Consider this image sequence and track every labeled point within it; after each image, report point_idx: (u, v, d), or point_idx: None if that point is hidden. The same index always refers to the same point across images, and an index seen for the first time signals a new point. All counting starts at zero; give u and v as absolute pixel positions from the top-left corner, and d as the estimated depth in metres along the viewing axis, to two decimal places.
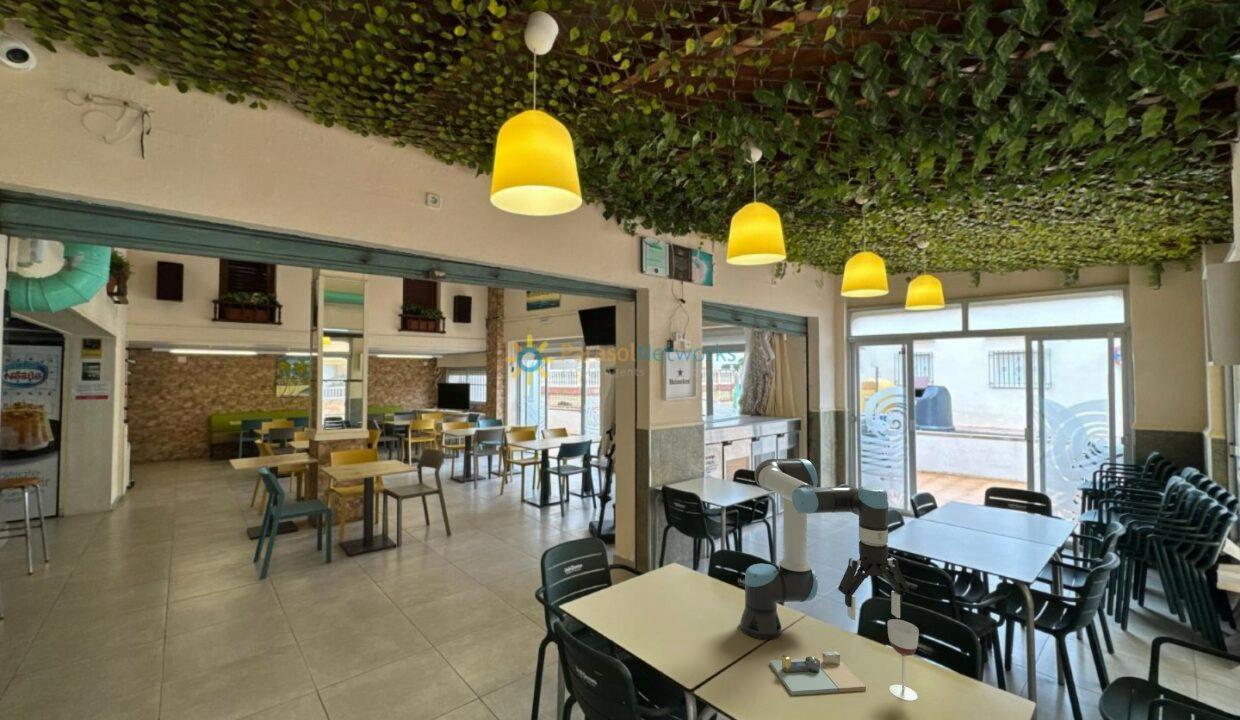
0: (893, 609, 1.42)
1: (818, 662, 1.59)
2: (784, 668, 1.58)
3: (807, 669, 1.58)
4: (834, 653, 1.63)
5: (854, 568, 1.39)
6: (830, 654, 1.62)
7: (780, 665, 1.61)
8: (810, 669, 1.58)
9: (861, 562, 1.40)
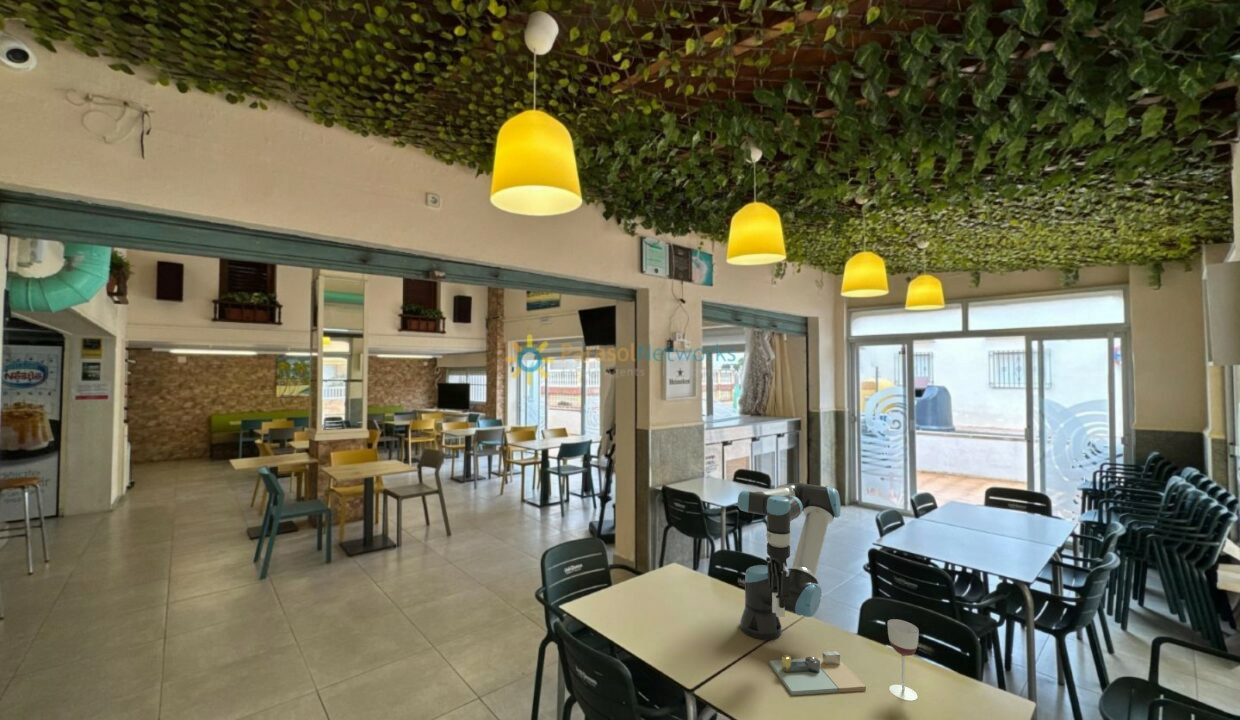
0: None
1: (818, 662, 1.59)
2: (784, 668, 1.58)
3: (807, 669, 1.58)
4: (834, 653, 1.63)
5: (767, 563, 1.71)
6: (830, 654, 1.62)
7: (780, 665, 1.61)
8: (810, 669, 1.58)
9: None
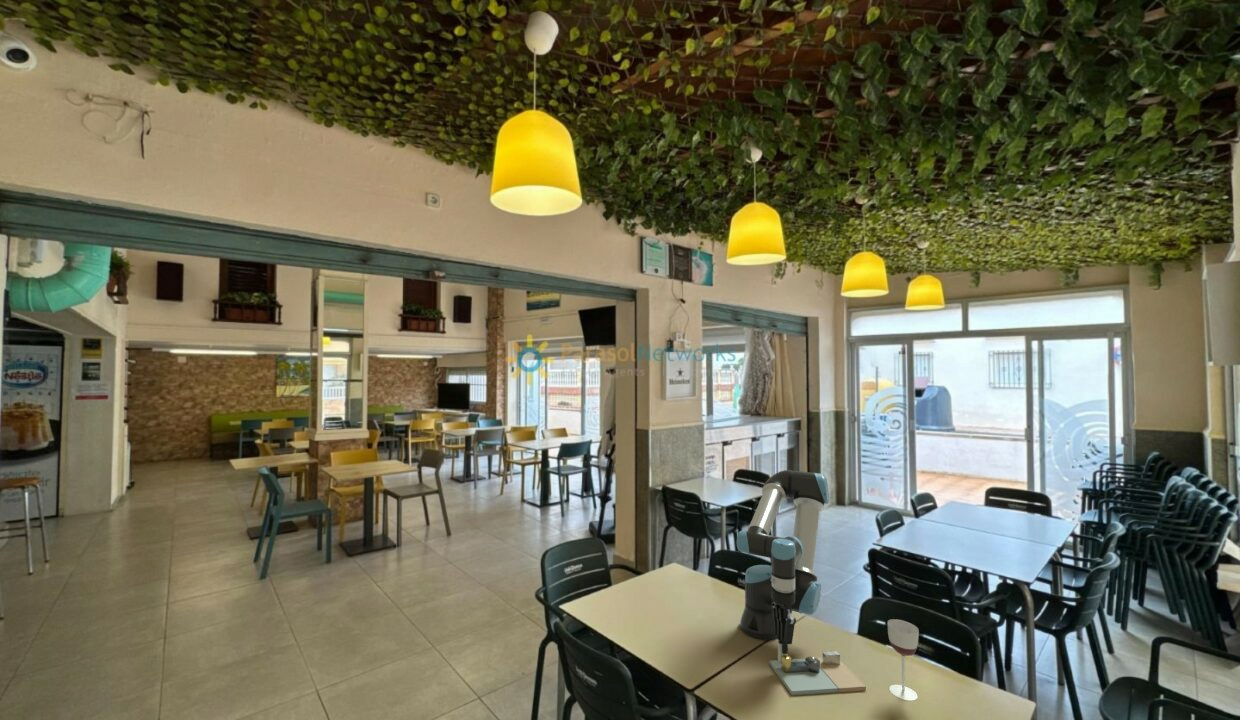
0: None
1: (818, 662, 1.59)
2: (784, 668, 1.58)
3: (807, 669, 1.58)
4: (834, 653, 1.63)
5: (772, 609, 1.66)
6: (830, 654, 1.62)
7: (780, 665, 1.61)
8: (810, 669, 1.58)
9: None
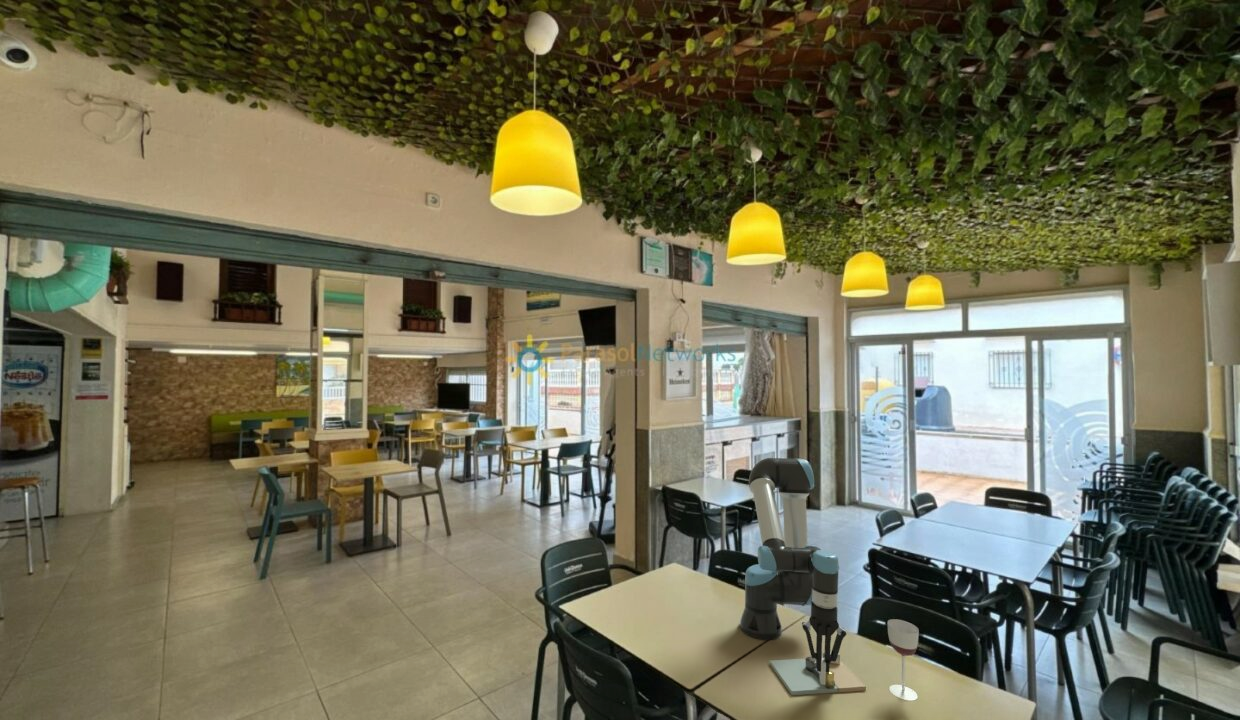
0: None
1: None
2: (834, 683, 1.50)
3: None
4: None
5: (807, 632, 1.51)
6: (830, 654, 1.62)
7: (780, 665, 1.61)
8: None
9: (810, 623, 1.52)
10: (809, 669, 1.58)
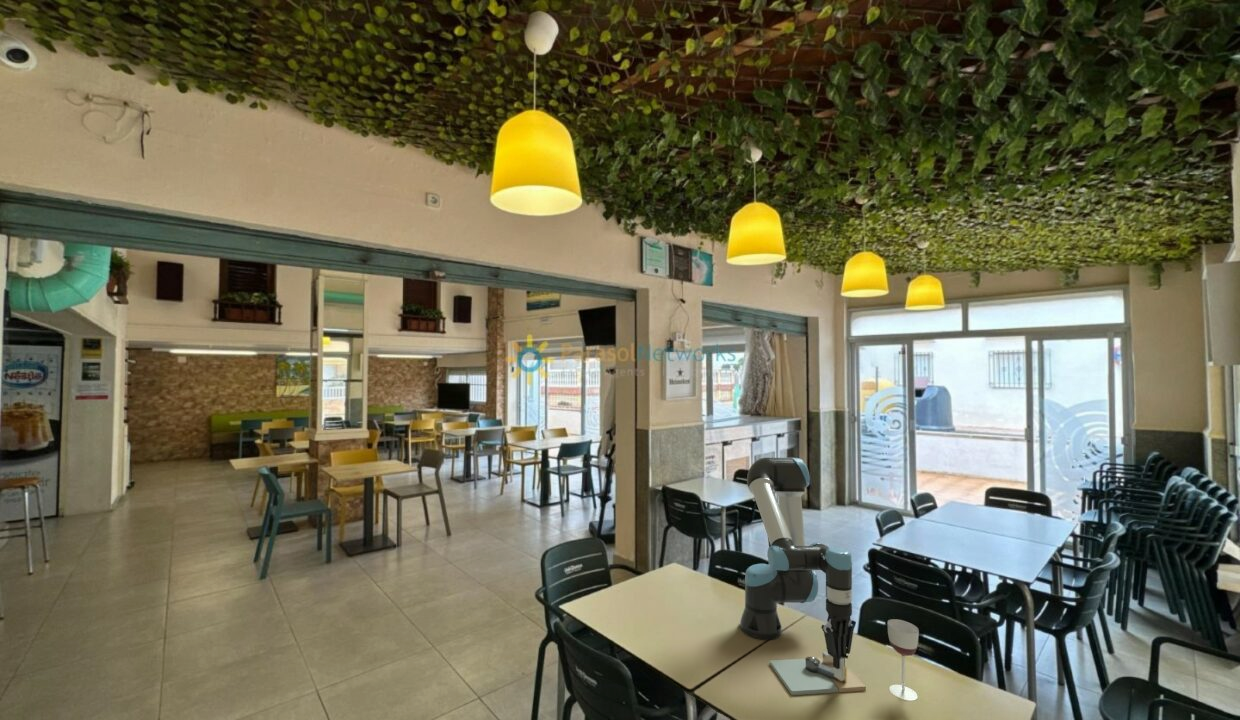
0: None
1: (809, 657, 1.61)
2: None
3: None
4: None
5: (830, 634, 1.50)
6: None
7: (780, 665, 1.61)
8: None
9: (831, 623, 1.51)
10: (814, 670, 1.57)
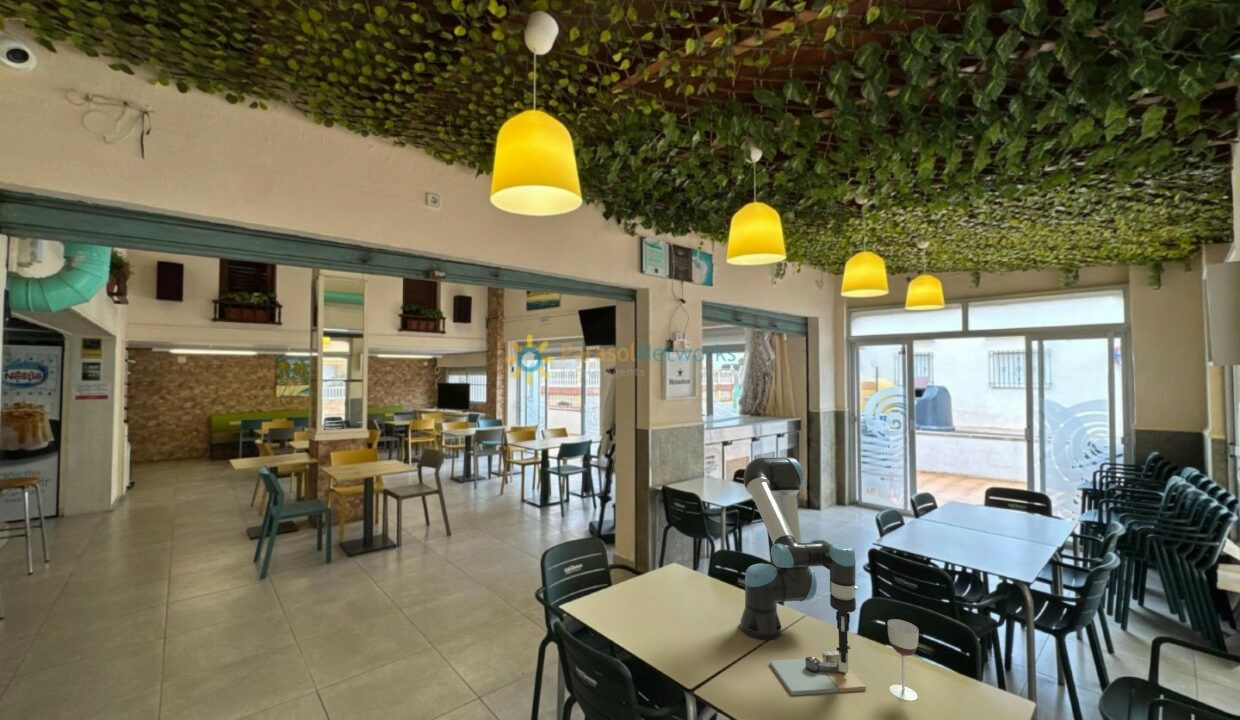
0: None
1: (807, 658, 1.61)
2: None
3: None
4: (834, 653, 1.63)
5: None
6: (830, 654, 1.62)
7: (780, 665, 1.61)
8: None
9: (845, 621, 1.53)
10: (817, 670, 1.58)
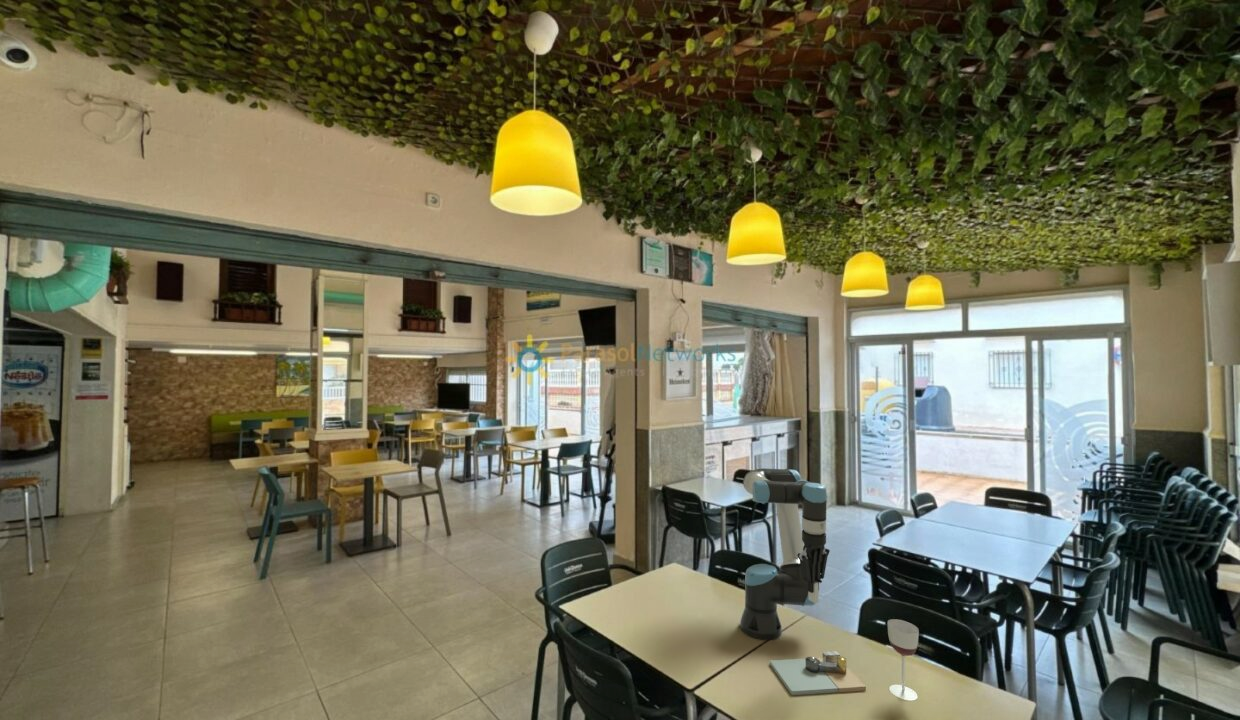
0: None
1: (807, 658, 1.61)
2: None
3: None
4: (834, 653, 1.63)
5: (805, 561, 1.60)
6: (830, 654, 1.62)
7: (780, 665, 1.61)
8: None
9: (806, 552, 1.61)
10: (817, 670, 1.58)
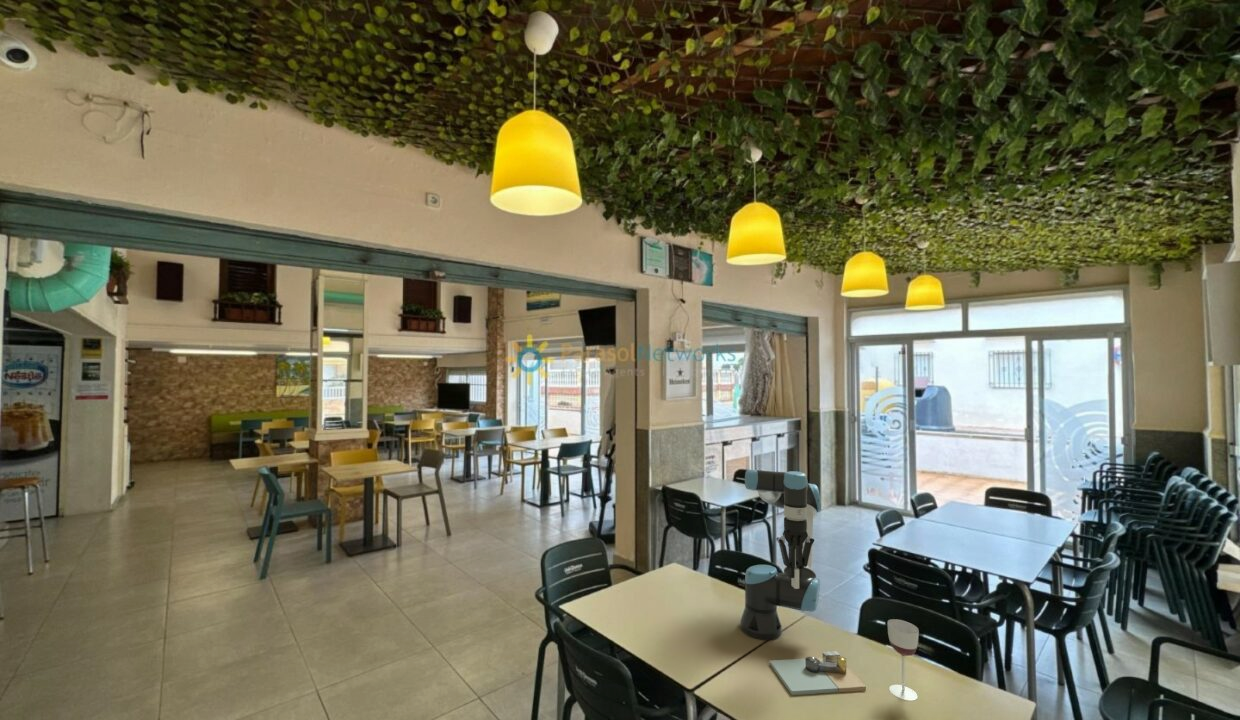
0: None
1: (807, 658, 1.61)
2: None
3: None
4: (834, 653, 1.63)
5: (782, 545, 1.67)
6: (830, 654, 1.62)
7: (780, 665, 1.61)
8: None
9: (784, 536, 1.67)
10: (817, 670, 1.58)
